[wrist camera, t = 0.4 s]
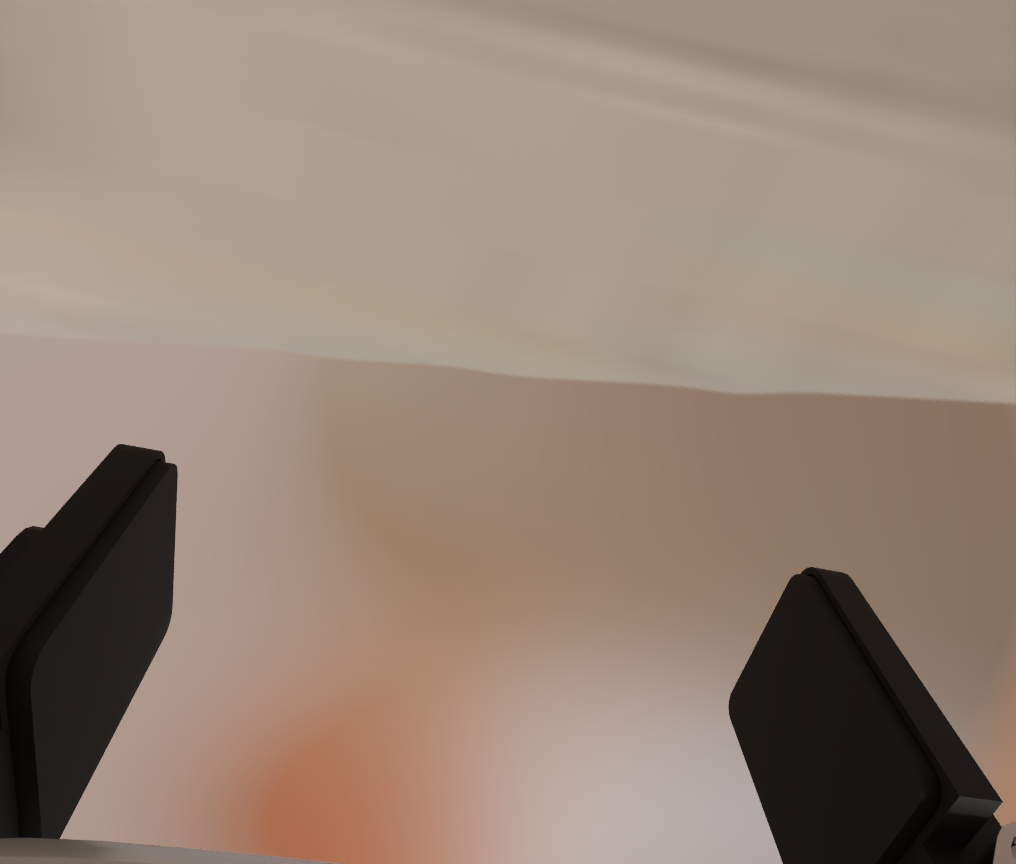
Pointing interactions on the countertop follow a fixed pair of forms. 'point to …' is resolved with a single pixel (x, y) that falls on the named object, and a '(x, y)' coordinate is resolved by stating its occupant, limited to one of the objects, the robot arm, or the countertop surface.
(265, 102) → the countertop surface
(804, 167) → the countertop surface
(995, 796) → the robot arm
